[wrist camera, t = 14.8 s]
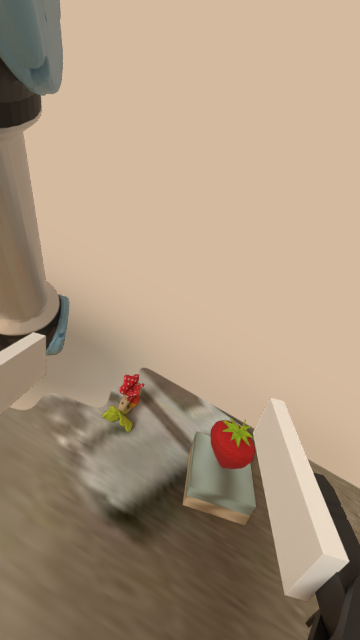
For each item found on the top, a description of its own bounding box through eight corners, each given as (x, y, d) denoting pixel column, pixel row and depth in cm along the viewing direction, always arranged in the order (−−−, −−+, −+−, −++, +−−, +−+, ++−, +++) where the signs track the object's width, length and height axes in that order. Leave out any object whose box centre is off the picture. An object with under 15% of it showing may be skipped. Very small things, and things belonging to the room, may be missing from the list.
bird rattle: (115, 410, 53) (94, 425, 44) (130, 364, 53) (113, 370, 44) (139, 421, 52) (123, 439, 43) (155, 374, 52) (143, 382, 43)
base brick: (182, 504, 36) (190, 485, 34) (190, 449, 46) (196, 431, 44) (244, 525, 36) (256, 506, 34) (239, 465, 45) (248, 447, 43)
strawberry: (216, 439, 43) (232, 398, 39) (250, 473, 38) (272, 430, 35) (194, 455, 39) (210, 411, 35) (229, 495, 34) (252, 450, 31)
